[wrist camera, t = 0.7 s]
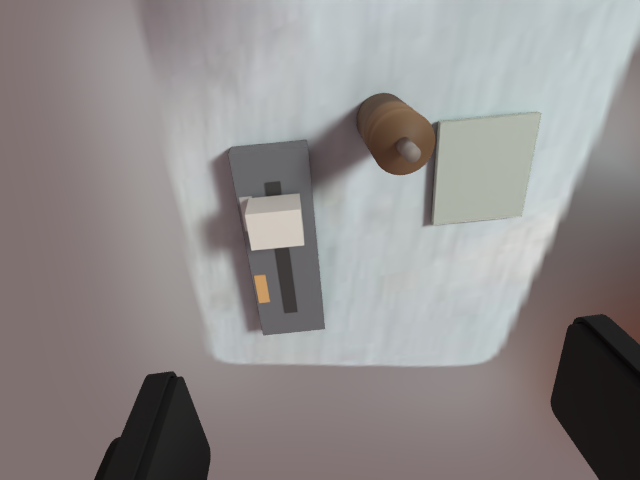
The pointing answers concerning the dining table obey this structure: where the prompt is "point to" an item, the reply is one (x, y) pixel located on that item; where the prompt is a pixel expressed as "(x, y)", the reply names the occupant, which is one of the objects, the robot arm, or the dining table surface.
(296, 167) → the switch board
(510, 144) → the mat
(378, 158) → the tool handle
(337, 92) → the dining table surface
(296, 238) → the switch tab
